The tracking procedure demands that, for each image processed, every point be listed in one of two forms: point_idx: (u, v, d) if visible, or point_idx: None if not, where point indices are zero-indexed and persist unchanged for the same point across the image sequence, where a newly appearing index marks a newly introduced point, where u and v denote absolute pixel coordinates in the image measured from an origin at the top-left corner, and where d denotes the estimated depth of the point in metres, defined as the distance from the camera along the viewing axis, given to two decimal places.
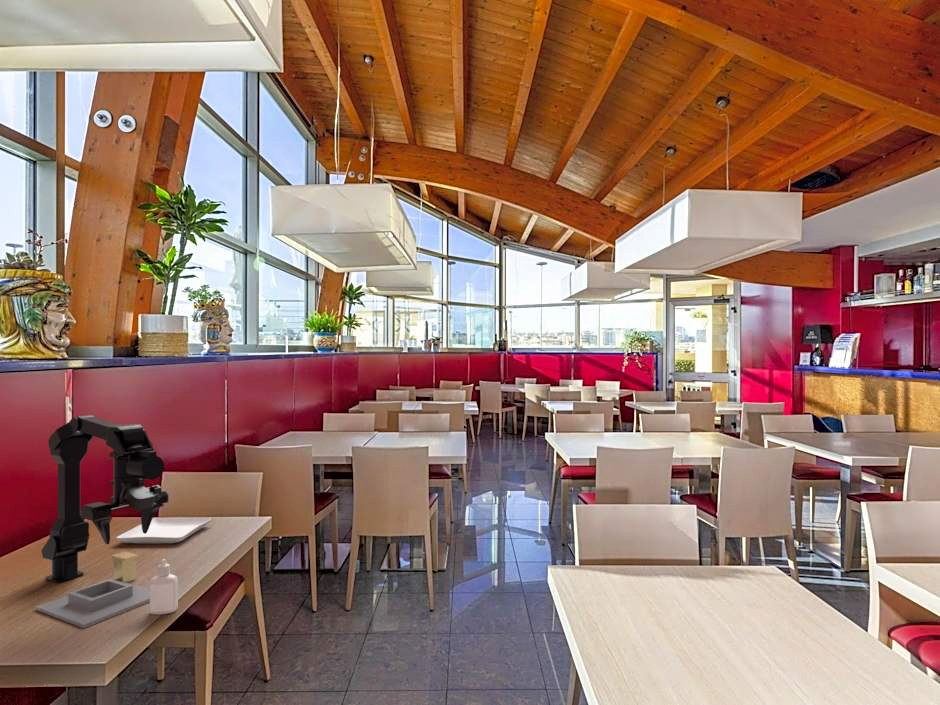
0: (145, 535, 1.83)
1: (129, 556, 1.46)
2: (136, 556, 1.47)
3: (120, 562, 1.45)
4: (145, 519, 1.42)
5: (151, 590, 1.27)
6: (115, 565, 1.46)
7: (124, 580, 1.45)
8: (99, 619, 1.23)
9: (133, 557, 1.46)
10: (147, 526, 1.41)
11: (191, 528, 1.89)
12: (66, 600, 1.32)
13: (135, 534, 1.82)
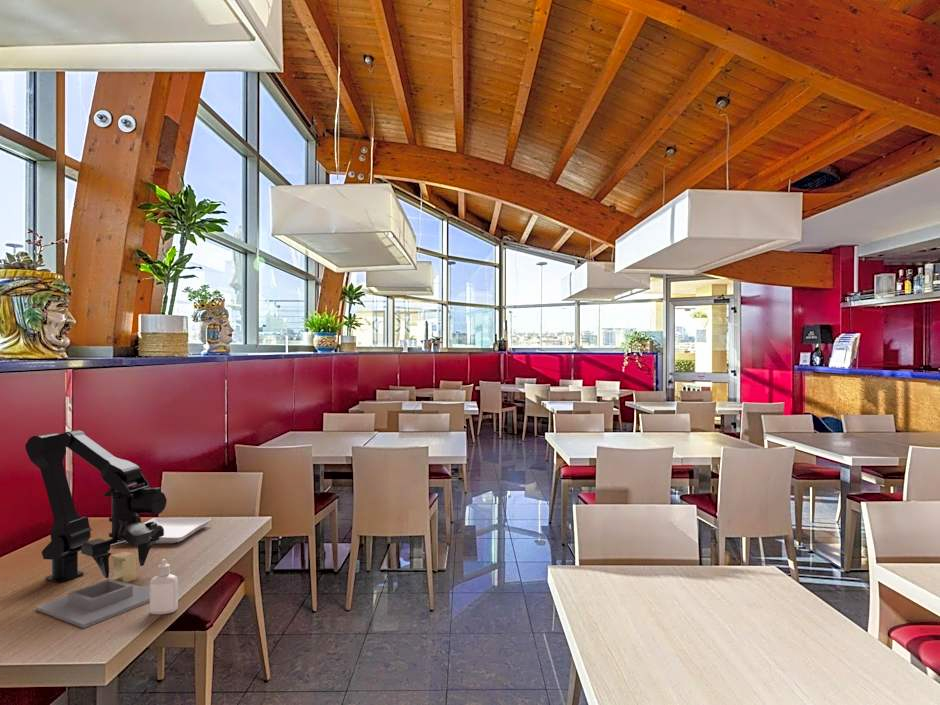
0: None
1: (129, 556, 1.46)
2: (136, 556, 1.47)
3: (120, 562, 1.45)
4: (142, 552, 1.51)
5: (151, 590, 1.27)
6: (115, 565, 1.46)
7: (124, 580, 1.45)
8: (99, 619, 1.23)
9: (133, 557, 1.46)
10: (144, 559, 1.51)
11: (191, 528, 1.89)
12: (66, 600, 1.32)
13: None
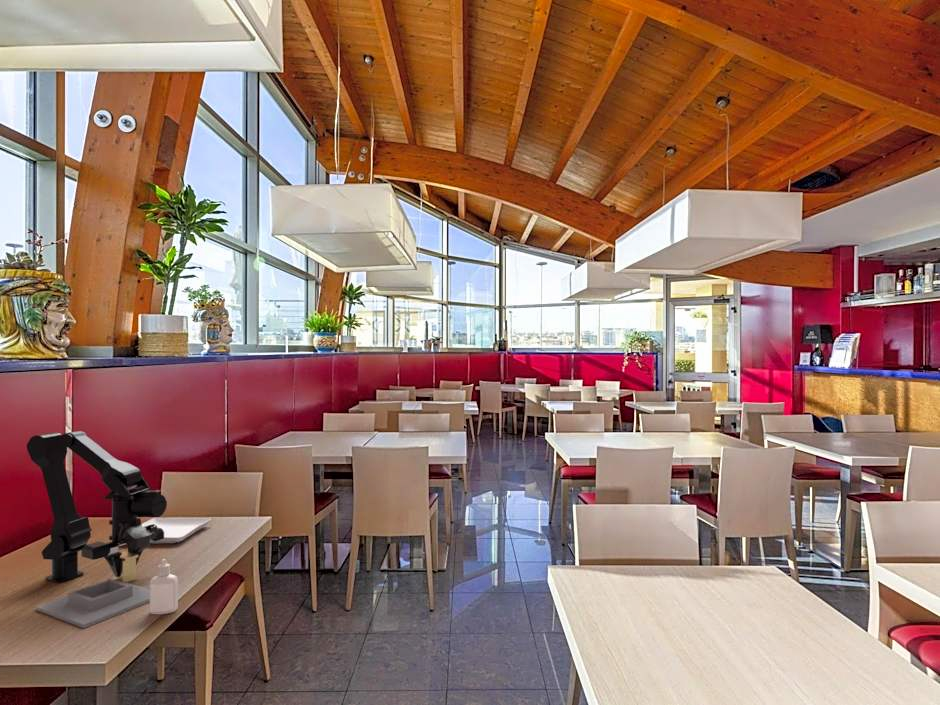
0: None
1: (129, 556, 1.46)
2: (136, 556, 1.47)
3: (120, 562, 1.45)
4: None
5: (151, 590, 1.27)
6: None
7: (124, 580, 1.45)
8: (99, 619, 1.23)
9: (133, 557, 1.46)
10: None
11: (191, 528, 1.89)
12: (66, 600, 1.32)
13: None
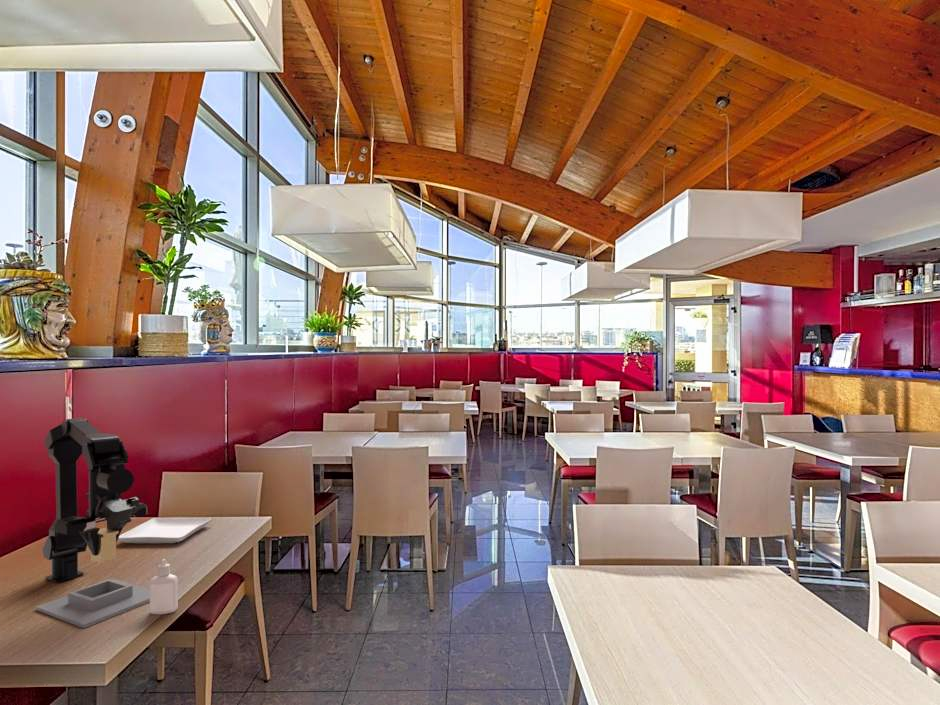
0: (145, 535, 1.83)
1: (108, 532, 1.33)
2: (116, 532, 1.34)
3: (98, 538, 1.32)
4: None
5: (151, 590, 1.27)
6: None
7: (103, 558, 1.32)
8: (99, 619, 1.23)
9: (113, 533, 1.33)
10: None
11: (191, 528, 1.89)
12: (66, 600, 1.32)
13: (135, 534, 1.82)
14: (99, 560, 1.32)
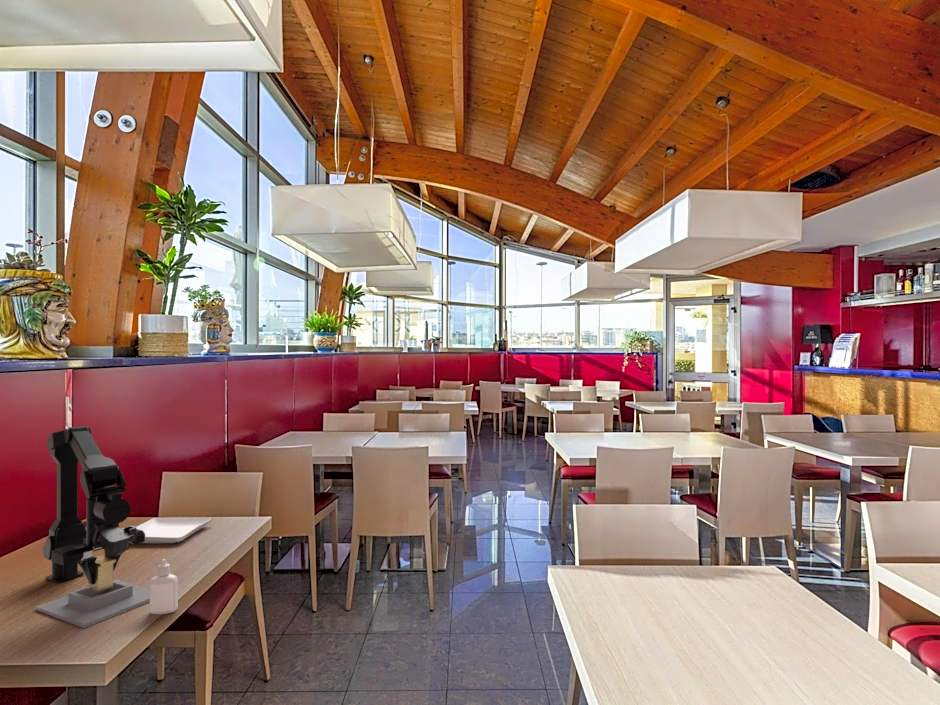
0: (145, 535, 1.83)
1: (105, 561, 1.32)
2: (113, 561, 1.33)
3: (95, 567, 1.31)
4: None
5: (151, 590, 1.27)
6: None
7: (100, 587, 1.31)
8: (99, 619, 1.23)
9: (110, 562, 1.32)
10: None
11: (191, 528, 1.89)
12: (66, 600, 1.32)
13: None
14: (96, 589, 1.31)
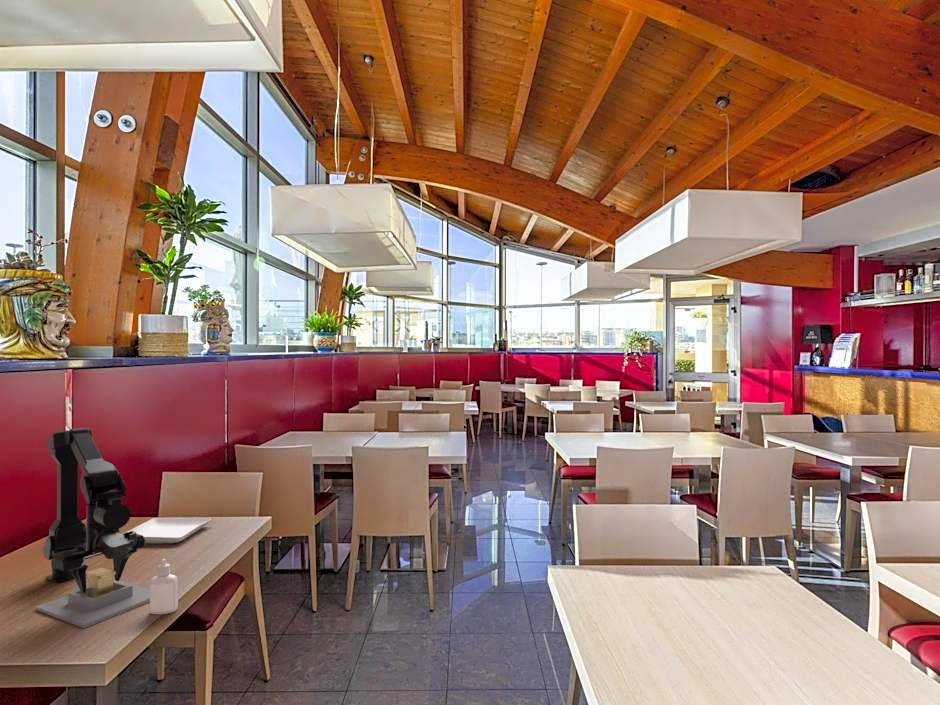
0: (145, 535, 1.83)
1: (105, 573, 1.32)
2: (113, 573, 1.33)
3: (95, 580, 1.31)
4: (117, 566, 1.36)
5: (151, 590, 1.27)
6: (90, 583, 1.32)
7: None
8: (99, 619, 1.23)
9: (110, 574, 1.32)
10: (119, 573, 1.36)
11: (191, 528, 1.89)
12: (66, 600, 1.32)
13: None
14: None
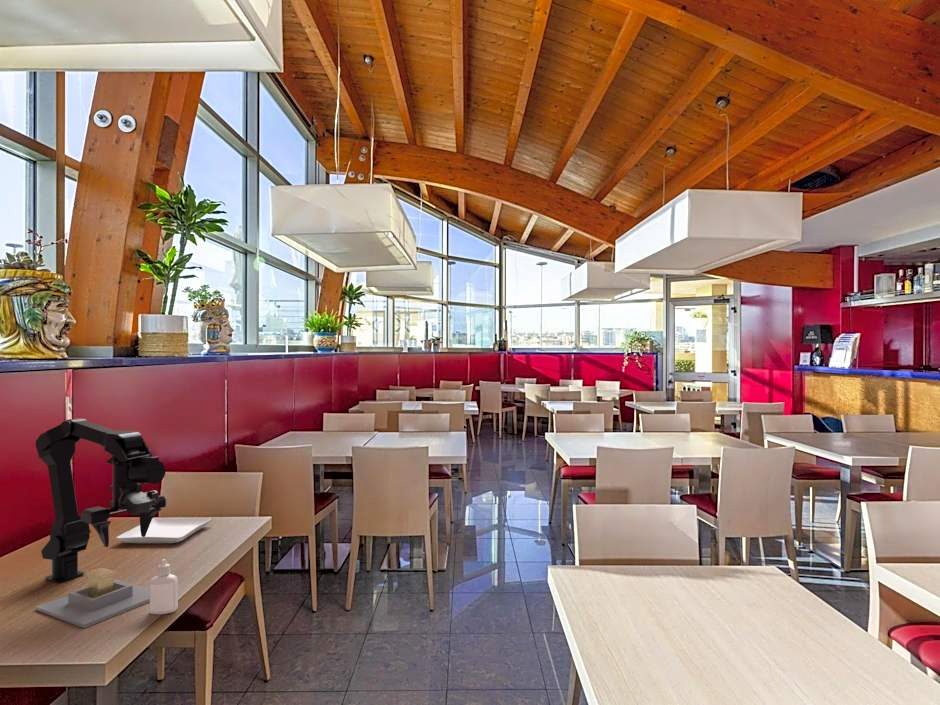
0: (145, 535, 1.83)
1: (105, 573, 1.32)
2: (113, 573, 1.33)
3: (95, 580, 1.31)
4: (143, 523, 1.47)
5: (151, 590, 1.27)
6: (90, 583, 1.32)
7: None
8: (99, 619, 1.23)
9: (110, 574, 1.32)
10: (145, 530, 1.47)
11: (191, 528, 1.89)
12: (66, 600, 1.32)
13: (135, 534, 1.82)
14: None
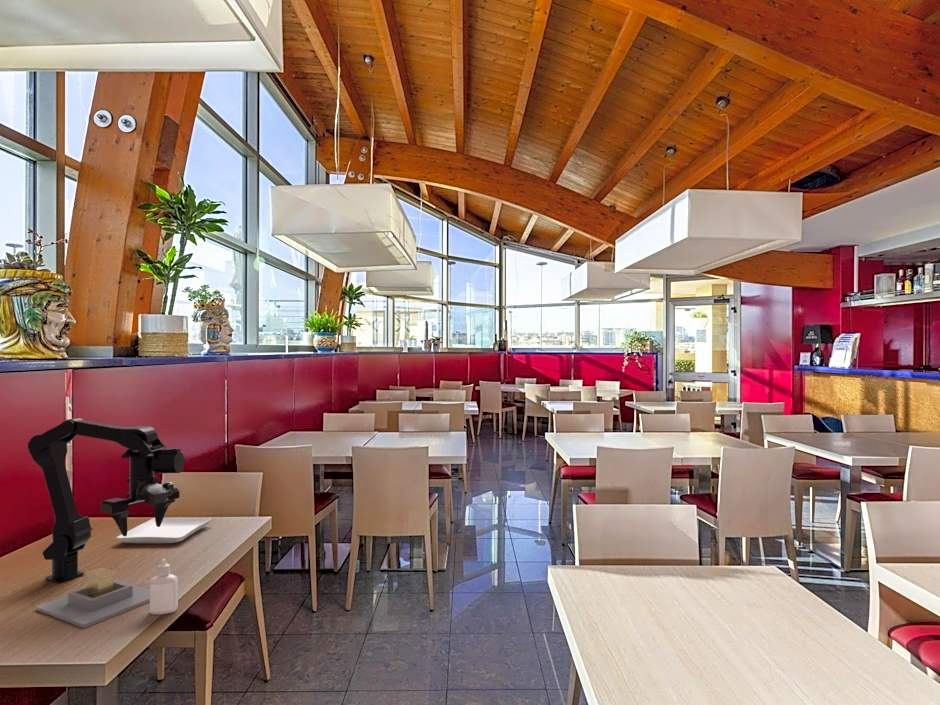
0: (145, 535, 1.83)
1: (105, 573, 1.32)
2: (113, 573, 1.33)
3: (95, 580, 1.31)
4: (158, 513, 1.54)
5: (151, 590, 1.27)
6: (90, 583, 1.32)
7: None
8: (99, 619, 1.23)
9: (110, 574, 1.32)
10: (160, 520, 1.54)
11: (191, 528, 1.89)
12: (66, 600, 1.32)
13: (135, 534, 1.82)
14: None
